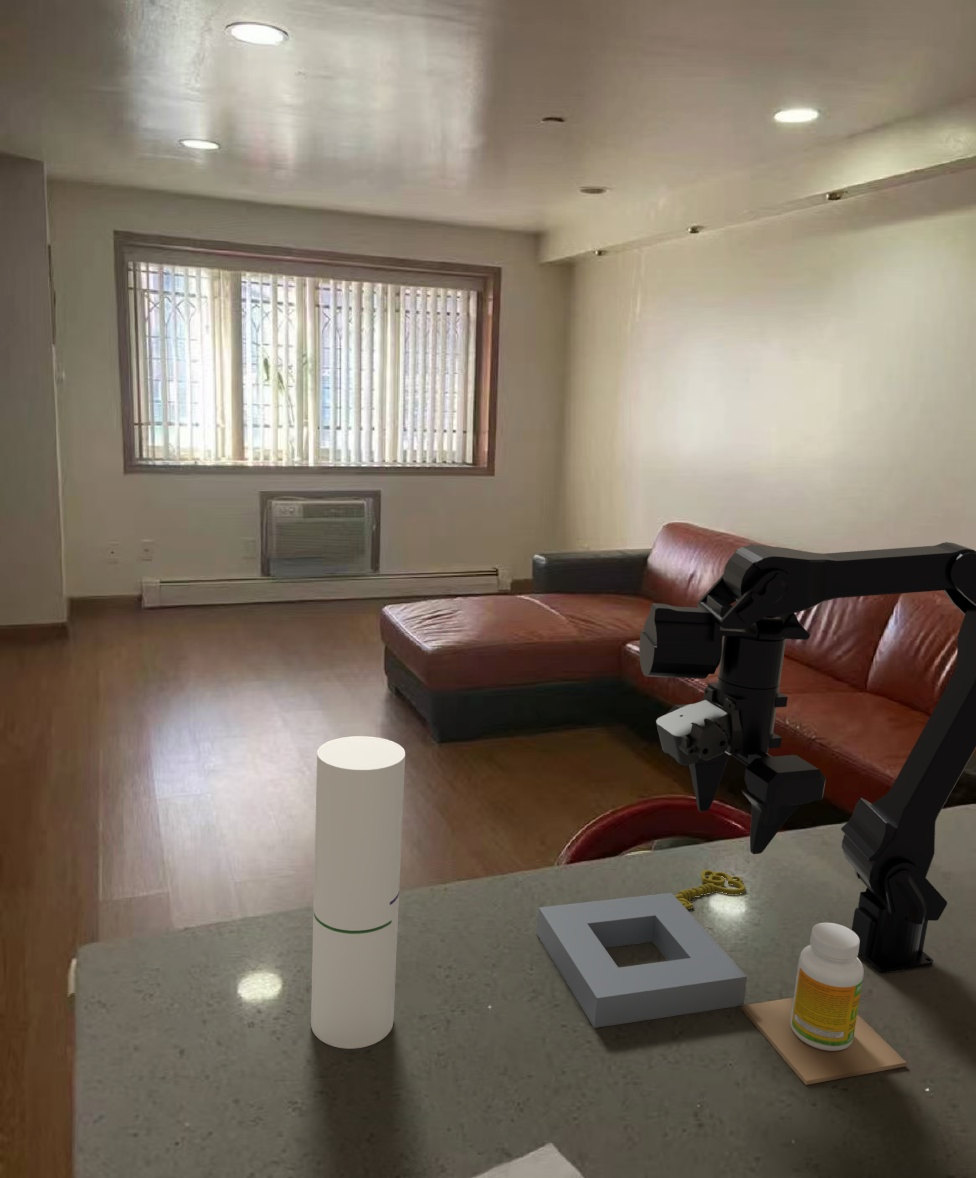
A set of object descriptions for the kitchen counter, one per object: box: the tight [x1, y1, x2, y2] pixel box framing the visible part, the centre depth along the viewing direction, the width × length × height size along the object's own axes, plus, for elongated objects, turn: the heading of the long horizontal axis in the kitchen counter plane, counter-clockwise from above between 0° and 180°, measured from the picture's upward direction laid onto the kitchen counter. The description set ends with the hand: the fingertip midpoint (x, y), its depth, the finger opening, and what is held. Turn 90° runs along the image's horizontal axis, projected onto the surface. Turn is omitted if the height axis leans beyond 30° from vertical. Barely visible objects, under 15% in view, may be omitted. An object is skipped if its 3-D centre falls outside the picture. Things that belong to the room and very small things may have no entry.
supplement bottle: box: [790, 922, 865, 1051], centre depth 86 cm, size 5×5×10 cm
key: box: [673, 869, 747, 911], centre depth 111 cm, size 12×1×5 cm
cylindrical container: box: [310, 735, 406, 1050], centre depth 83 cm, size 7×7×25 cm
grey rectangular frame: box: [536, 892, 748, 1029], centre depth 96 cm, size 15×15×3 cm
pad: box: [741, 997, 907, 1086], centre depth 87 cm, size 10×10×1 cm
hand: (728, 830), depth 97 cm, fingers open, 9 cm apart
